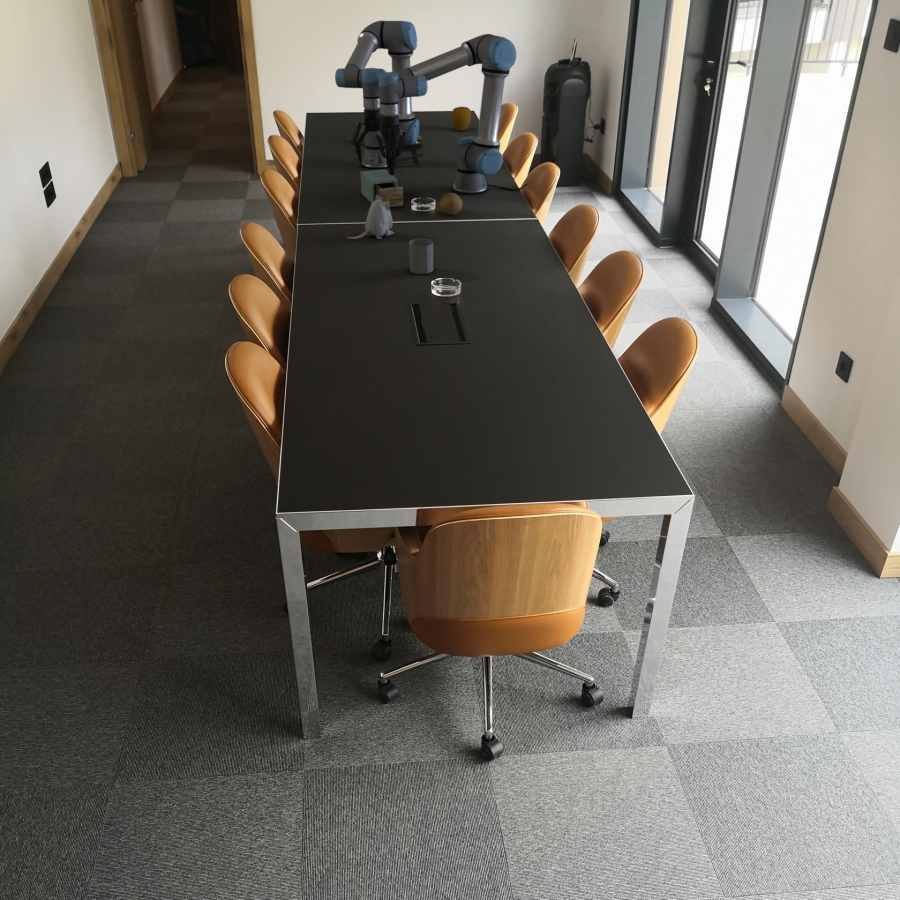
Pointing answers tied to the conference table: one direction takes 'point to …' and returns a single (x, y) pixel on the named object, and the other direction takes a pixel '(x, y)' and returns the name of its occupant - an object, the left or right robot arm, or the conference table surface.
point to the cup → (421, 256)
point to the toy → (378, 220)
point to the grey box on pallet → (374, 182)
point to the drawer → (389, 193)
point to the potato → (451, 204)
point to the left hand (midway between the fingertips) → (374, 159)
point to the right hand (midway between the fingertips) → (391, 174)
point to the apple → (461, 118)
